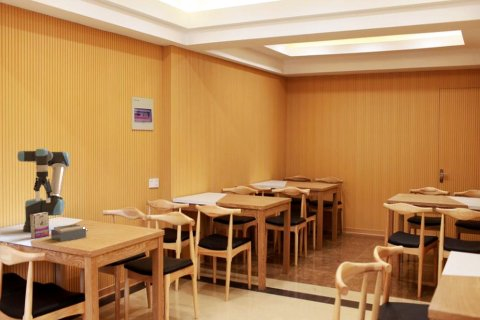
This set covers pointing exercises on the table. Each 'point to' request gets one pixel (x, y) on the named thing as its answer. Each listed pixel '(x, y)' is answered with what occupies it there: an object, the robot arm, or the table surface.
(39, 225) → the candy bar box
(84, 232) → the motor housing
